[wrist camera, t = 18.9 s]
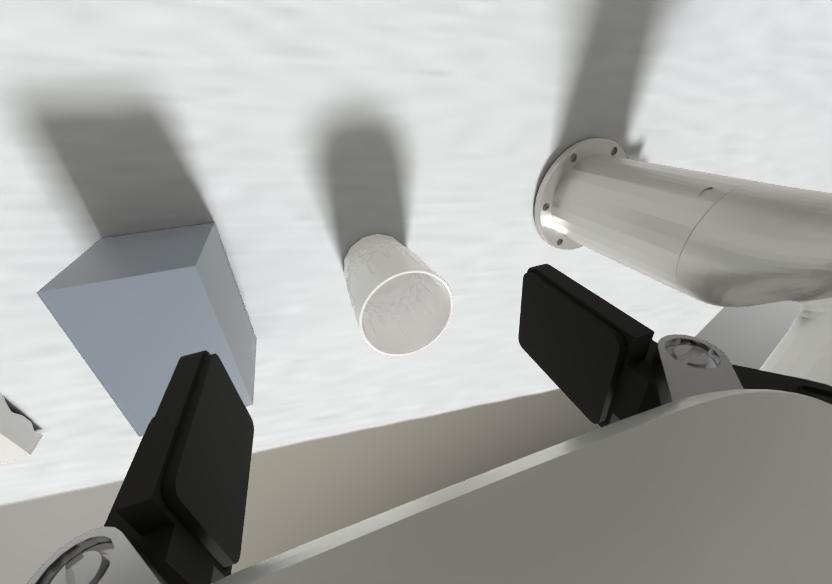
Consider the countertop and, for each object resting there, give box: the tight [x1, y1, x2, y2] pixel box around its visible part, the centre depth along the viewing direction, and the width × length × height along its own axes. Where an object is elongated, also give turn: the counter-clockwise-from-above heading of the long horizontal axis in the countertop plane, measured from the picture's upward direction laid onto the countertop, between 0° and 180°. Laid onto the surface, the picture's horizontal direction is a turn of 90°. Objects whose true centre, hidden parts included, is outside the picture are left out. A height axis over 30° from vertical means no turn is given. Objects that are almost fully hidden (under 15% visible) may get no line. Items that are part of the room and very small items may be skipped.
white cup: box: [344, 234, 454, 356], centre depth 31 cm, size 8×8×10 cm
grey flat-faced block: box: [37, 222, 256, 437], centre depth 26 cm, size 8×12×9 cm, turn 2°
